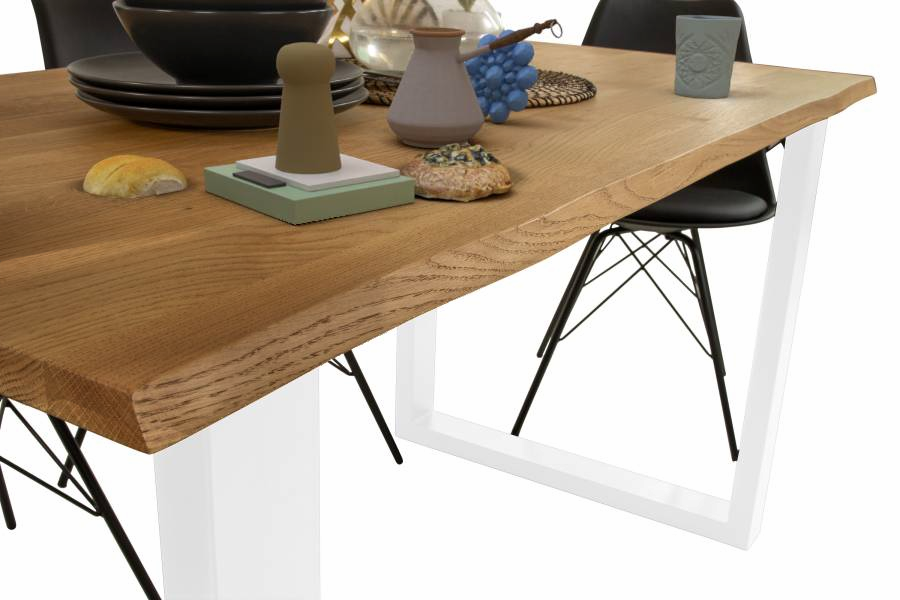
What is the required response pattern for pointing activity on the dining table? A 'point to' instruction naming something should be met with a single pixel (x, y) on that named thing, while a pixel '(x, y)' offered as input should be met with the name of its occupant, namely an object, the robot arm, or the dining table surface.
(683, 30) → the grey embossed vase
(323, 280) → the dining table surface
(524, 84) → the grapes
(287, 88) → the cork
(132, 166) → the bread roll
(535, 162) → the dining table surface
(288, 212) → the scale
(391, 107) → the coffee pot
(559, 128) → the dining table surface
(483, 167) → the bread roll
